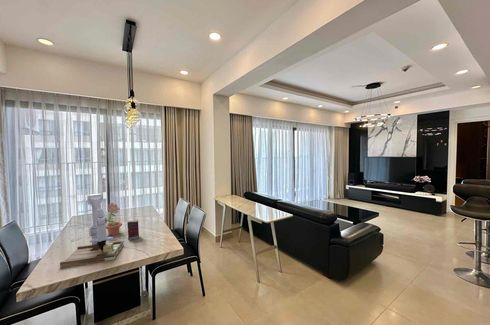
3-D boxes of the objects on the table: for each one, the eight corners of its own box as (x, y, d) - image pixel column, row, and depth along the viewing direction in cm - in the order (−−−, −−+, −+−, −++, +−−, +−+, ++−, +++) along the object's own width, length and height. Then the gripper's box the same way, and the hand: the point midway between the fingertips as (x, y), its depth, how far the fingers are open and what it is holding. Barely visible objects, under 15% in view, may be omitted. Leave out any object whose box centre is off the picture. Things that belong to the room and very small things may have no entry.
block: (106, 249, 154) (105, 243, 154) (113, 248, 155) (113, 242, 155) (103, 252, 149) (103, 246, 149) (111, 251, 151) (110, 245, 150)
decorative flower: (112, 237, 180) (111, 205, 179) (100, 236, 183) (99, 205, 181) (125, 231, 195) (124, 201, 193) (114, 230, 198) (112, 201, 196)
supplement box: (138, 236, 183) (138, 219, 182) (139, 238, 179) (138, 221, 178) (128, 238, 179) (127, 221, 178) (128, 240, 175) (127, 222, 174)
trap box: (78, 250, 156) (77, 246, 156) (123, 244, 166) (123, 240, 166) (60, 267, 134) (59, 262, 133) (114, 259, 143) (113, 254, 143)
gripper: (87, 236, 144) (88, 254, 145) (110, 233, 149) (111, 251, 149) (92, 232, 151) (93, 249, 152) (113, 230, 155) (114, 246, 156)
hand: (102, 250), depth 151 cm, fingers closed
